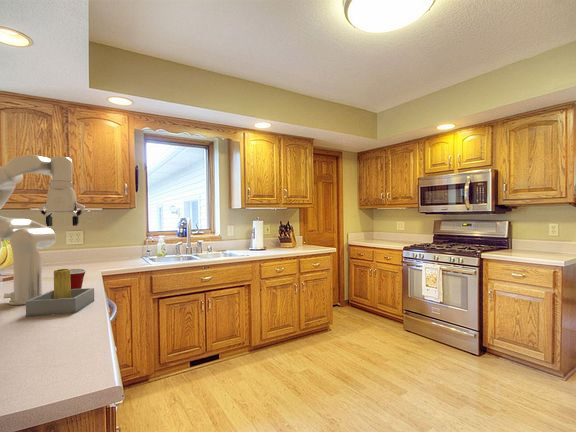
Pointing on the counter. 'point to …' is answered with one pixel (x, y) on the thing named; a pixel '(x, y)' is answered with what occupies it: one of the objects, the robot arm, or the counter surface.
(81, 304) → the box
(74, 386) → the counter surface
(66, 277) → the vase
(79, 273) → the plastic cup
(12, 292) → the robot arm
